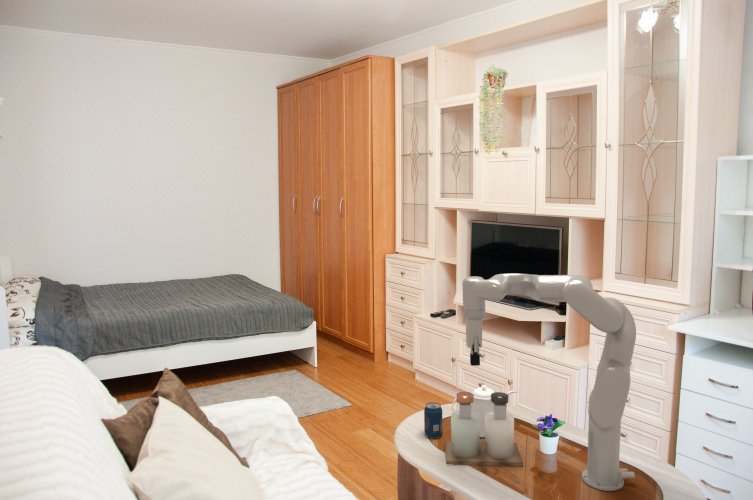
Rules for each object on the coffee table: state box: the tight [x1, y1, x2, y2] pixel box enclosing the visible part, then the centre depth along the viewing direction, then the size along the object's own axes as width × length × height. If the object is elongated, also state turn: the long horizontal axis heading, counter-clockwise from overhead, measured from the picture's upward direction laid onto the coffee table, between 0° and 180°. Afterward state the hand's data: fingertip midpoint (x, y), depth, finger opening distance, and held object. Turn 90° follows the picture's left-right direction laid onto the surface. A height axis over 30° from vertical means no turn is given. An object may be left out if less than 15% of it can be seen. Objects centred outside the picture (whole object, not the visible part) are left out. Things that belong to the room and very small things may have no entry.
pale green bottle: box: [450, 403, 480, 458], centre depth 198 cm, size 10×10×18 cm
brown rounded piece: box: [456, 391, 474, 404], centre depth 197 cm, size 6×6×8 cm
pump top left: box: [491, 391, 509, 405], centre depth 196 cm, size 6×6×8 cm
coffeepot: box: [451, 384, 519, 439], centre depth 215 cm, size 11×25×19 cm, turn 84°
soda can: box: [423, 402, 444, 439], centre depth 214 cm, size 7×7×12 cm
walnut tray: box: [444, 440, 524, 467], centre depth 198 cm, size 26×14×2 cm, turn 85°
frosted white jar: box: [484, 403, 515, 459], centre depth 197 cm, size 10×10×18 cm
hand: (475, 364), depth 192 cm, fingers closed
